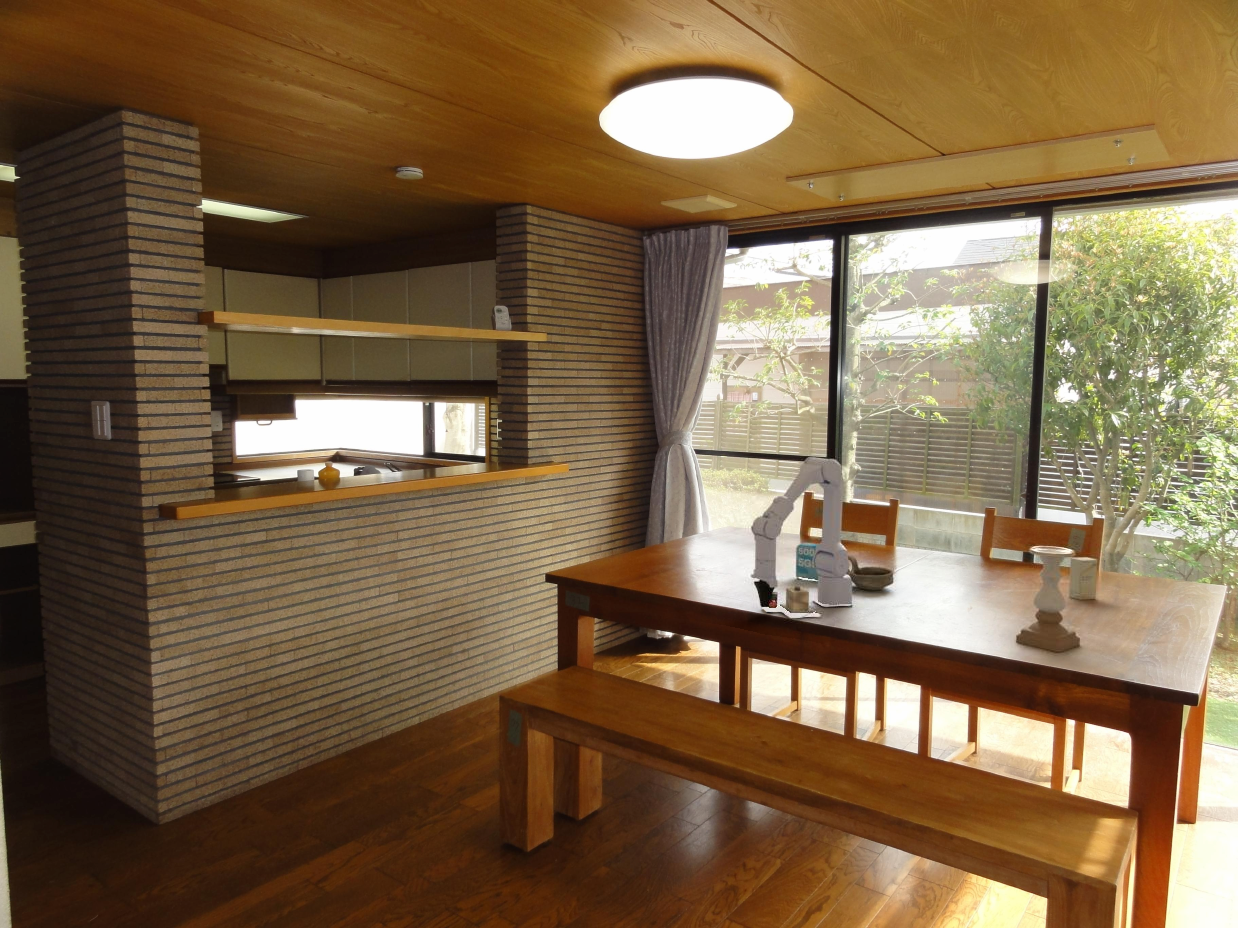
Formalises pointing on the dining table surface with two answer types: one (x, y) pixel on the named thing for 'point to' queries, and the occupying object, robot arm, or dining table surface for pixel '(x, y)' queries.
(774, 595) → the lever
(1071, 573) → the skincare box
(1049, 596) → the candle holder
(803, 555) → the data package
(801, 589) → the block
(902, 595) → the dining table surface
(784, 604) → the grey square slab
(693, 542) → the dining table surface
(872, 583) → the bowl
